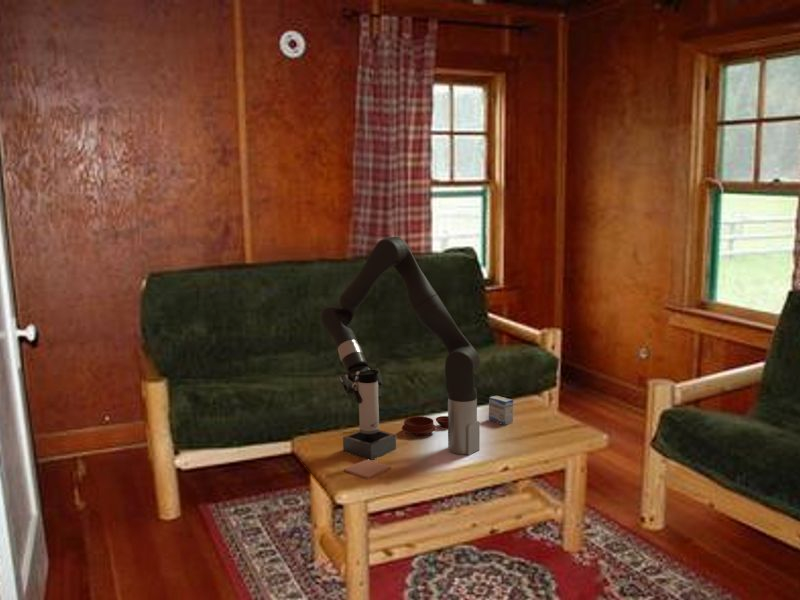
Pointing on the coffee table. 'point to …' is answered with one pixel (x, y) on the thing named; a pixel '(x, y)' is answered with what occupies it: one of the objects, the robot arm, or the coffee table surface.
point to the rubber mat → (367, 468)
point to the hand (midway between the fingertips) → (370, 400)
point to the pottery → (423, 425)
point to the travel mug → (368, 401)
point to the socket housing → (369, 444)
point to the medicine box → (500, 410)
